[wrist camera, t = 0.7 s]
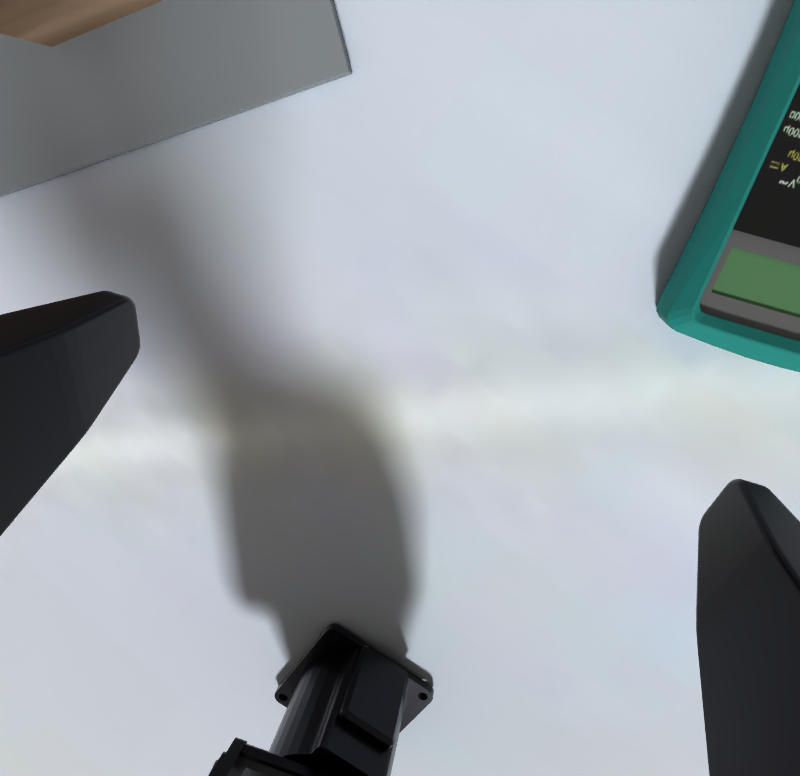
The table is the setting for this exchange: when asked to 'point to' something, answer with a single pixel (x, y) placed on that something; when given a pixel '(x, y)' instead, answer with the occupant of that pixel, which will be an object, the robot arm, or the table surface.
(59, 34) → the walnut block
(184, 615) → the table surface
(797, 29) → the digital multimeter
